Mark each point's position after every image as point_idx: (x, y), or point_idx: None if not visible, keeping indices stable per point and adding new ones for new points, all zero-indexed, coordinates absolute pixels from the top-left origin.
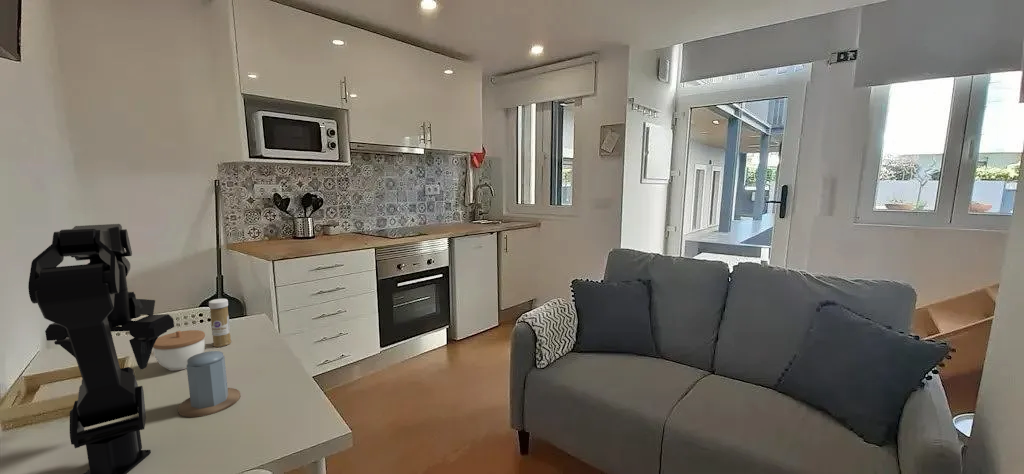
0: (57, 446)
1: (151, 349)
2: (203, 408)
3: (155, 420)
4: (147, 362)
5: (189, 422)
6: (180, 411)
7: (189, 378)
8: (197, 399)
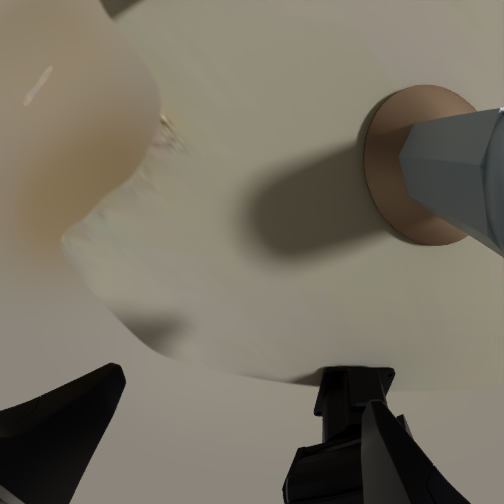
0: (180, 318)
1: (433, 473)
2: None
3: (335, 242)
4: (392, 418)
5: (427, 267)
6: (391, 221)
7: (461, 224)
8: (445, 220)
